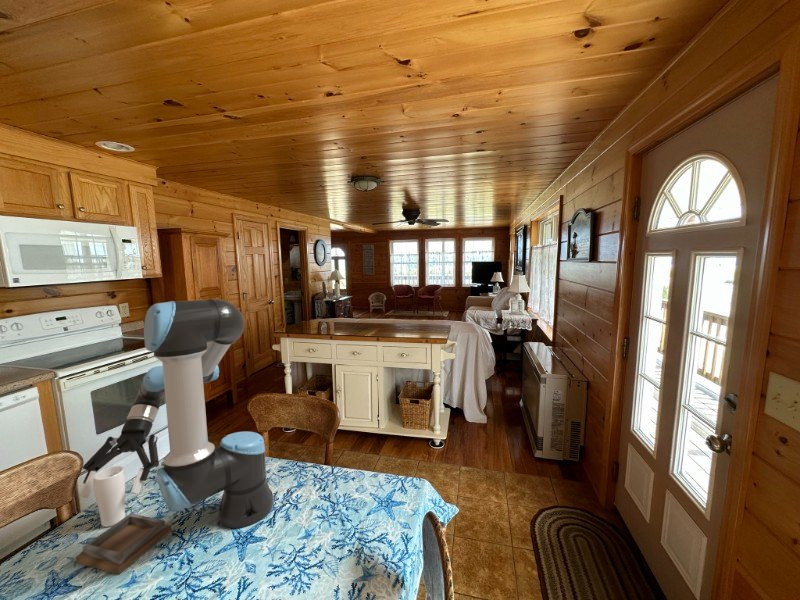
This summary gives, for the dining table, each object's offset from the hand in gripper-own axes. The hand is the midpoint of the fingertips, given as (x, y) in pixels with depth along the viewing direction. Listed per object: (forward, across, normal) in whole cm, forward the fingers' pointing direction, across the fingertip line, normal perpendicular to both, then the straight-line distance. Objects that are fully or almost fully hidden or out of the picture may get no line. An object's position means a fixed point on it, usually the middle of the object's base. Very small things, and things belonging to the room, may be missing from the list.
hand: (109, 495), depth 96 cm
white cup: (+6, -1, -6) cm, 8 cm away
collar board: (+13, -11, +1) cm, 17 cm away
